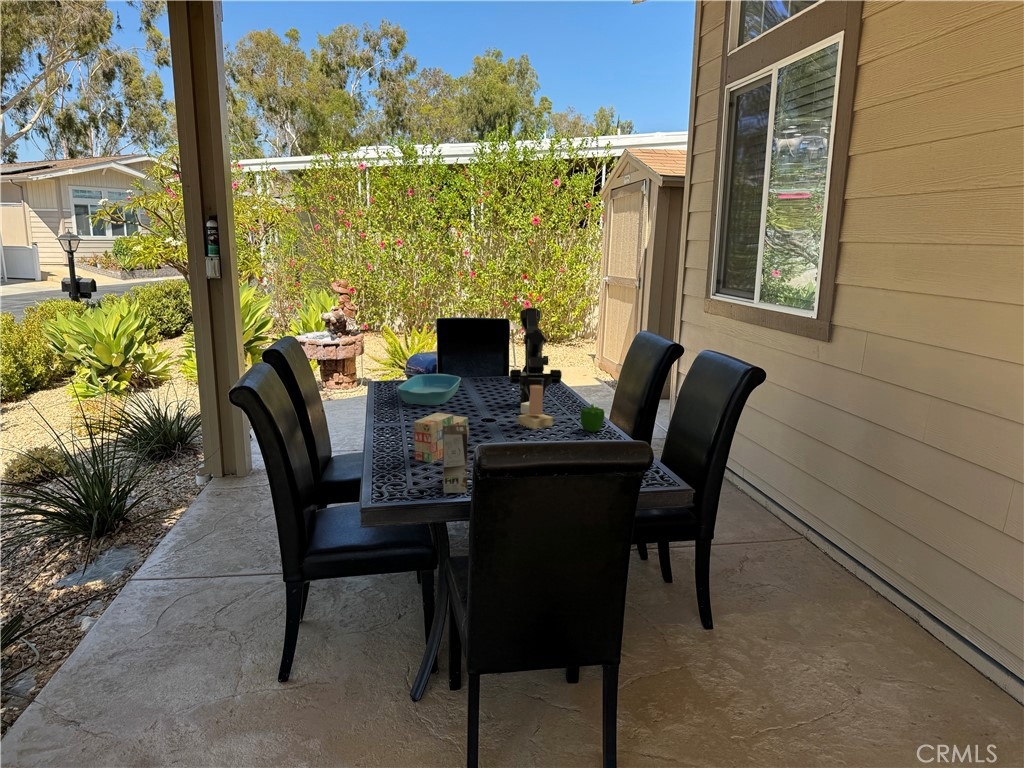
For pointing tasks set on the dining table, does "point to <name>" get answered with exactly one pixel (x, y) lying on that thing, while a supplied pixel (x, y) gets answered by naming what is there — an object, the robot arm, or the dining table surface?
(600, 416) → the bell pepper
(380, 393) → the dining table surface
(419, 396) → the casserole dish
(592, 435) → the dining table surface
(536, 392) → the pillar brick
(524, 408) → the brick
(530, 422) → the base brick
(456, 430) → the coffee box
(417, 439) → the stack of blocks
